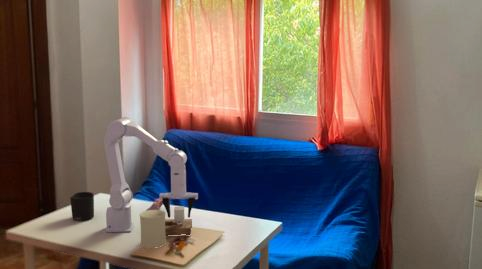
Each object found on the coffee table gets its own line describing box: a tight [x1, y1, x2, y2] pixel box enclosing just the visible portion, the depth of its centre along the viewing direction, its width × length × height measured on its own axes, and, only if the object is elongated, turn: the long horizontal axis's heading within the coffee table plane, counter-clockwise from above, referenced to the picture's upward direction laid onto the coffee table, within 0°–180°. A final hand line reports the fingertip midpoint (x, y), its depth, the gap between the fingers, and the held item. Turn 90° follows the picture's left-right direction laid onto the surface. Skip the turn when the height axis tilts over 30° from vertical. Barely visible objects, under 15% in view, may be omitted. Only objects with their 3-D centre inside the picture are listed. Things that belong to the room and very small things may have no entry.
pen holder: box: [69, 191, 95, 222], centre depth 212 cm, size 9×9×10 cm
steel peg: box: [173, 206, 185, 225], centre depth 197 cm, size 4×4×10 cm
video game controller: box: [145, 197, 163, 211], centre depth 220 cm, size 10×5×7 cm, turn 169°
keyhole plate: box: [165, 218, 193, 236], centre depth 197 cm, size 14×10×3 cm
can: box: [139, 209, 167, 249], centre depth 185 cm, size 9×9×12 cm
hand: (179, 216), depth 196 cm, fingers open, 7 cm apart
